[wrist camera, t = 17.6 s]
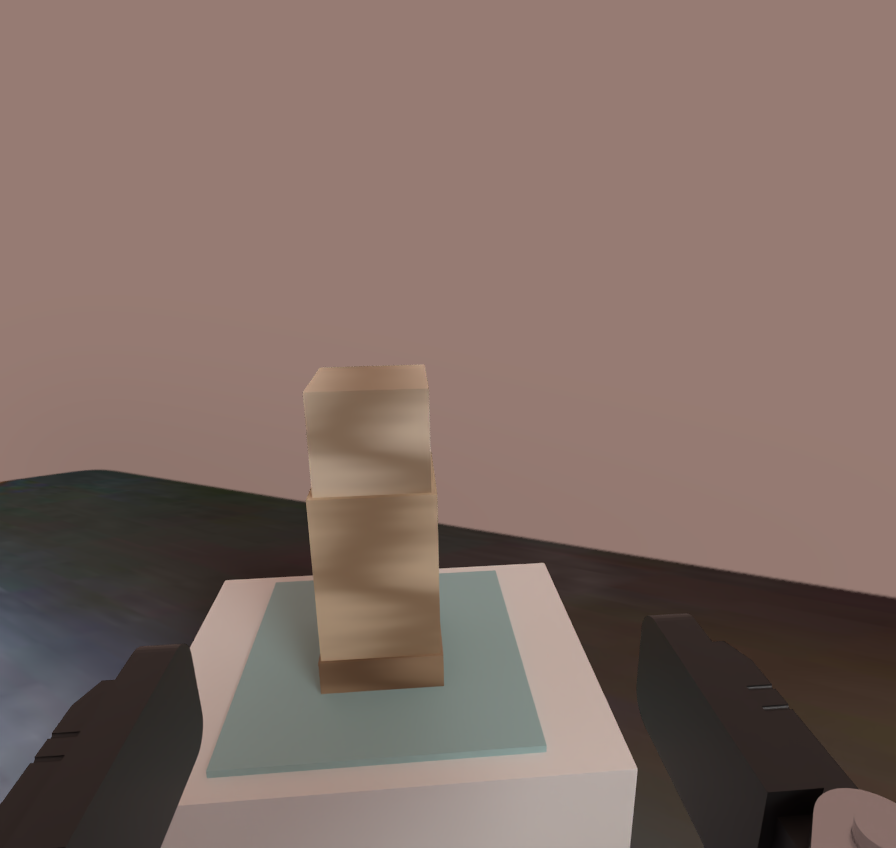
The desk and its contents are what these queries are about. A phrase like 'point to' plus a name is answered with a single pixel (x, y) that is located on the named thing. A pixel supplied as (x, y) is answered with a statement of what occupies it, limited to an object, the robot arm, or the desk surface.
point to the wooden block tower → (373, 528)
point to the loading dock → (405, 730)
